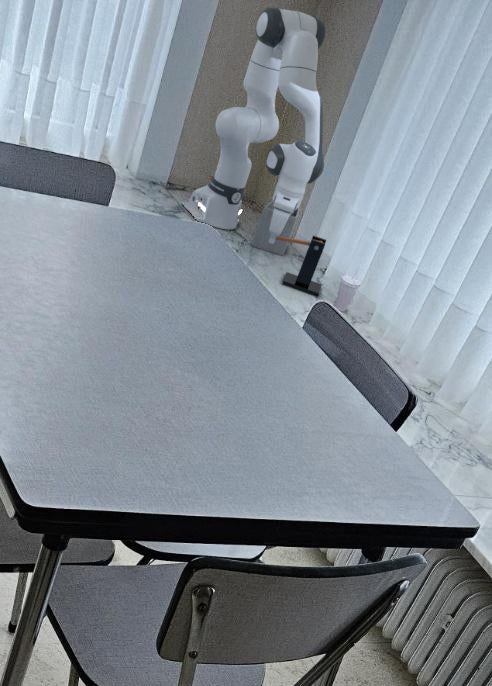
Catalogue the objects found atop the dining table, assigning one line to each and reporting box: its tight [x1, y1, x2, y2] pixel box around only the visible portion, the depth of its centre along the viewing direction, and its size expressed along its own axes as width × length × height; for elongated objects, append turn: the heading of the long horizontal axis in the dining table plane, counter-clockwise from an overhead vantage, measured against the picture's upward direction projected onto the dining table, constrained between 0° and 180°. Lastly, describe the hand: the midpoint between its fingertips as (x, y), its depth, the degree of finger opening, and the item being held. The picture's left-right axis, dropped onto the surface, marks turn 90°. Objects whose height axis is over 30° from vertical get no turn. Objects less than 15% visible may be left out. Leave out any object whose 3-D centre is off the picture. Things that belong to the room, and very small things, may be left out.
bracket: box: [281, 235, 327, 298], centre depth 317 cm, size 12×9×16 cm
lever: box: [276, 236, 323, 247], centre depth 314 cm, size 16×5×2 cm, turn 76°
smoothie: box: [333, 267, 362, 312], centre depth 310 cm, size 6×6×14 cm
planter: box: [250, 200, 301, 256], centre depth 337 cm, size 16×8×19 cm, turn 123°
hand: (272, 239), depth 316 cm, fingers closed on lever, 5 cm apart
